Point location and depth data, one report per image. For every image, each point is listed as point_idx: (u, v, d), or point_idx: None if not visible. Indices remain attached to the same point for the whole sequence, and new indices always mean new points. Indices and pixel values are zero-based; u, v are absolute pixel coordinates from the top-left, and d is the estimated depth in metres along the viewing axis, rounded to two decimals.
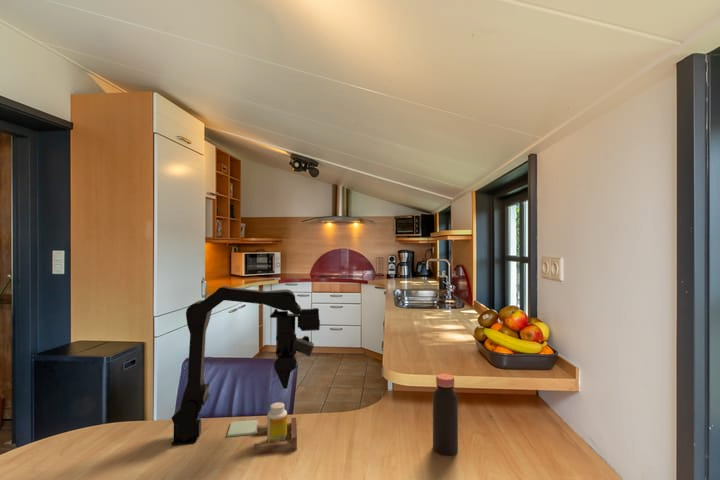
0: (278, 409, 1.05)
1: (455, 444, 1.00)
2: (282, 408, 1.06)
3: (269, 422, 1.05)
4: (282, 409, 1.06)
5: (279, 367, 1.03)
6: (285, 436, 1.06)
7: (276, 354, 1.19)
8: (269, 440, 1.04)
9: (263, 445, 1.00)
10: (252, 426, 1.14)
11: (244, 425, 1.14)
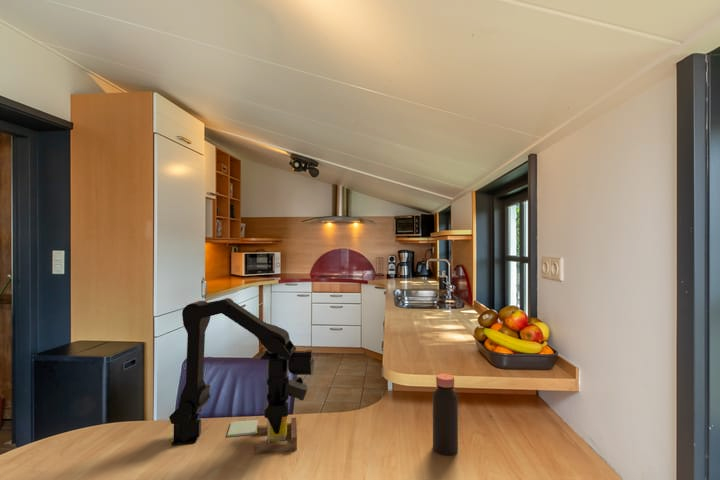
0: None
1: (455, 444, 1.00)
2: None
3: (269, 422, 1.05)
4: None
5: (269, 416, 0.97)
6: (285, 436, 1.06)
7: (267, 398, 1.11)
8: (269, 440, 1.04)
9: (263, 445, 1.00)
10: (252, 426, 1.14)
11: (244, 425, 1.14)
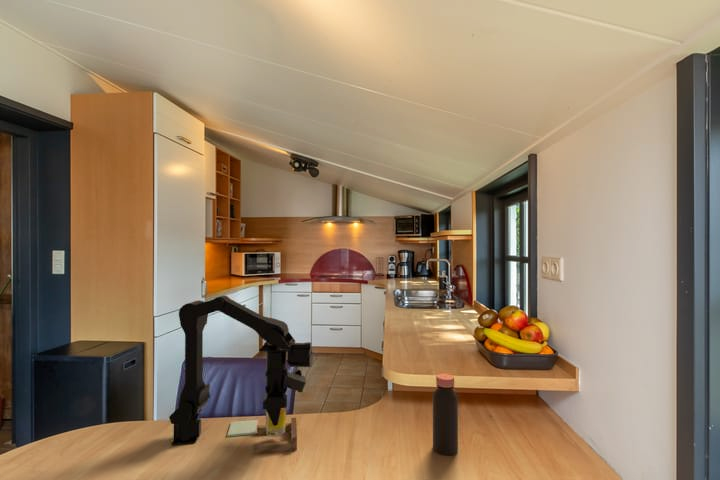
0: None
1: (455, 444, 1.00)
2: None
3: None
4: None
5: (268, 407, 0.97)
6: (284, 428, 1.06)
7: (266, 390, 1.11)
8: (268, 432, 1.04)
9: (263, 445, 1.00)
10: (252, 426, 1.14)
11: (244, 425, 1.14)
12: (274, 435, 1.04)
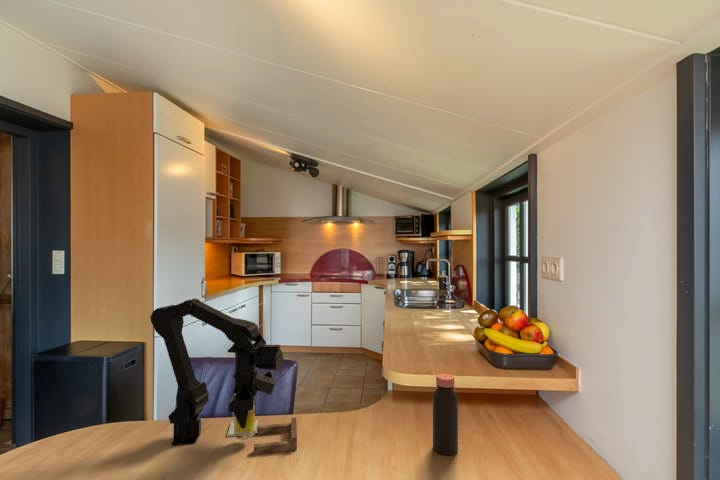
0: None
1: (455, 444, 1.00)
2: None
3: None
4: None
5: (234, 410, 0.96)
6: (252, 430, 1.04)
7: (236, 392, 1.09)
8: (235, 434, 1.03)
9: (263, 445, 1.00)
10: None
11: None
12: (242, 438, 1.02)
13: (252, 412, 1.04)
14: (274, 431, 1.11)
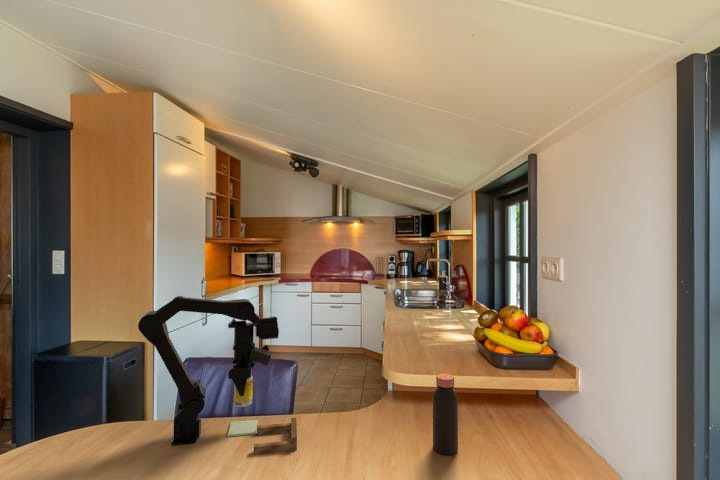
0: None
1: (455, 444, 1.00)
2: None
3: (235, 386, 1.12)
4: None
5: (233, 377, 1.04)
6: (251, 399, 1.13)
7: (235, 365, 1.18)
8: (235, 402, 1.11)
9: (263, 445, 1.00)
10: (252, 426, 1.14)
11: (244, 425, 1.14)
12: (241, 405, 1.11)
13: (250, 382, 1.13)
14: (274, 431, 1.11)
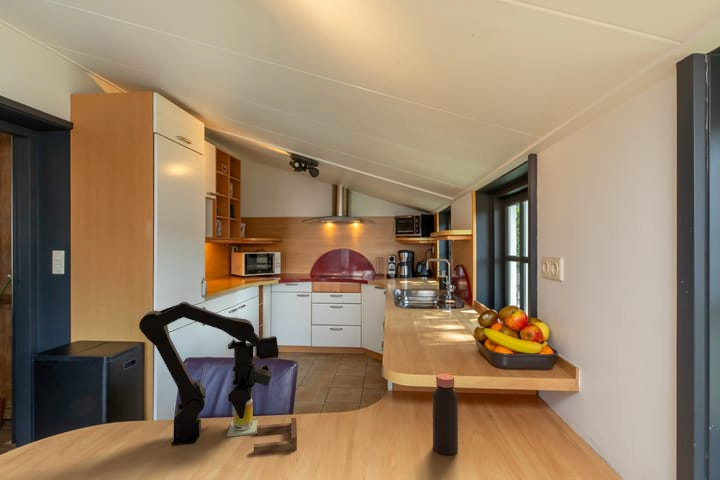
0: None
1: (455, 444, 1.00)
2: None
3: None
4: None
5: (233, 400, 1.04)
6: (250, 422, 1.13)
7: None
8: (235, 426, 1.11)
9: (263, 445, 1.00)
10: (252, 426, 1.14)
11: None
12: (241, 429, 1.11)
13: (250, 405, 1.12)
14: (274, 431, 1.11)
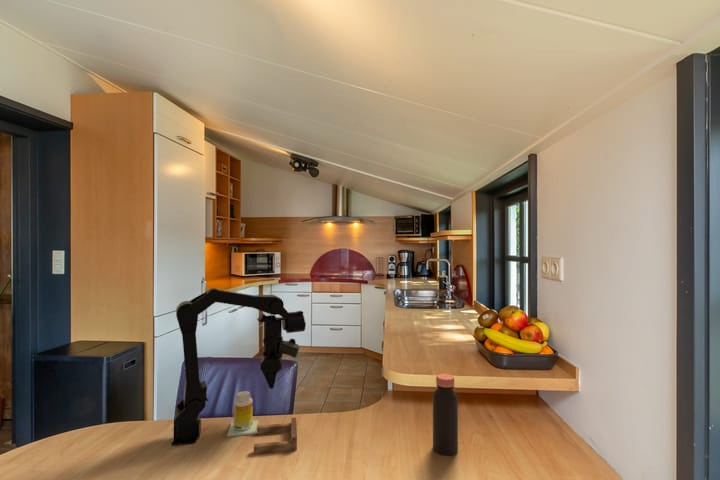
0: (243, 397, 1.12)
1: (455, 444, 1.00)
2: (247, 396, 1.13)
3: (235, 409, 1.11)
4: (247, 397, 1.13)
5: (265, 368, 1.10)
6: (250, 422, 1.13)
7: (264, 356, 1.25)
8: (235, 426, 1.11)
9: (263, 445, 1.00)
10: (252, 426, 1.14)
11: None
12: (241, 429, 1.11)
13: (250, 405, 1.12)
14: (274, 431, 1.11)
